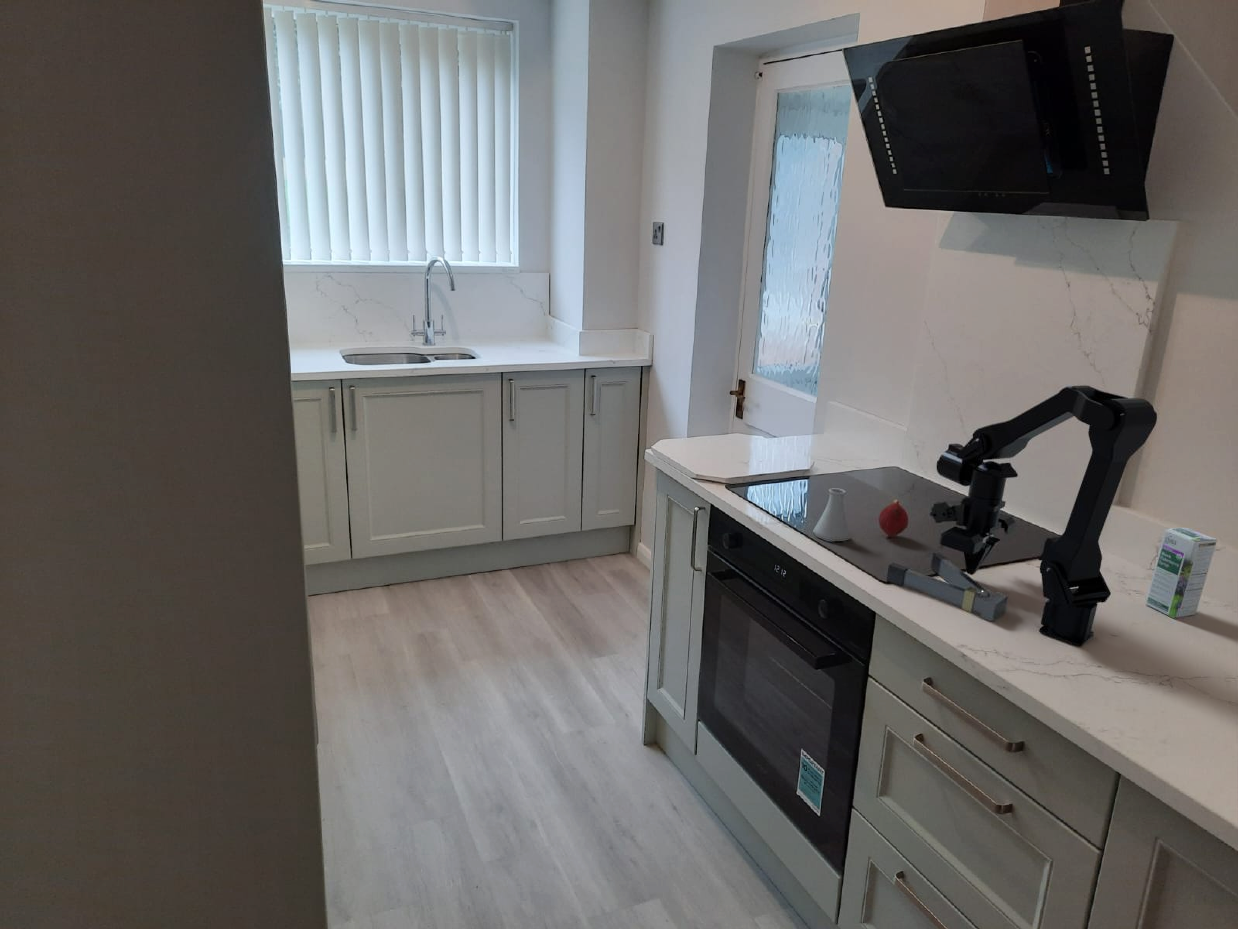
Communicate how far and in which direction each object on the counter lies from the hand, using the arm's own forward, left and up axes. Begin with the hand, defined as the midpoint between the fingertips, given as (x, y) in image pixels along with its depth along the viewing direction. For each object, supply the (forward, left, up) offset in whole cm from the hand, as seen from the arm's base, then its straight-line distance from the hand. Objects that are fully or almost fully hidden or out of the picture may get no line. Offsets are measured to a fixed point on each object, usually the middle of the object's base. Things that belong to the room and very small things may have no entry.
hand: (970, 573), depth 158 cm
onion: (+20, -7, -1) cm, 21 cm away
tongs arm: (-1, +6, -1) cm, 6 cm away
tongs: (0, +12, -1) cm, 12 cm away
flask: (+28, +3, -1) cm, 28 cm away
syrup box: (-29, -16, -1) cm, 33 cm away
